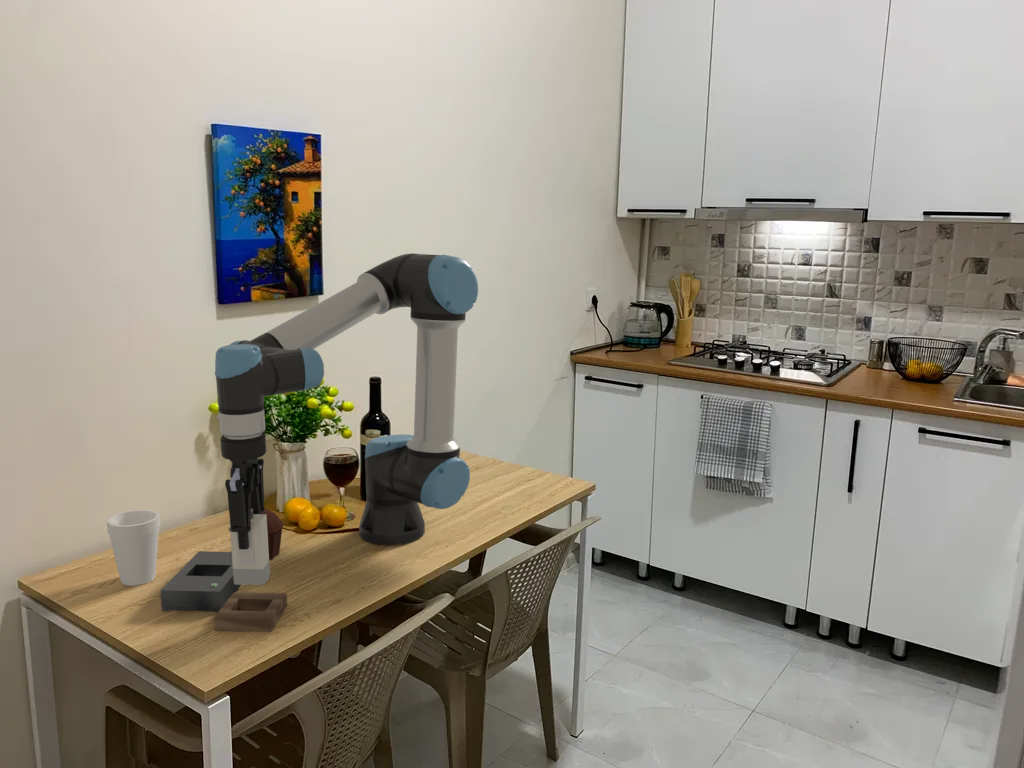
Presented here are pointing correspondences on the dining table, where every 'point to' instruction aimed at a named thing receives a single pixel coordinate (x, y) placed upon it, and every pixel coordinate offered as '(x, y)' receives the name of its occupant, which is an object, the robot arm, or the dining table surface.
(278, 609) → the brown wooden square frame
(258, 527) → the plug
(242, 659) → the dining table surface
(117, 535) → the foam cup
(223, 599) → the switch box
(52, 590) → the dining table surface
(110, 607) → the dining table surface
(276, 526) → the muffin
